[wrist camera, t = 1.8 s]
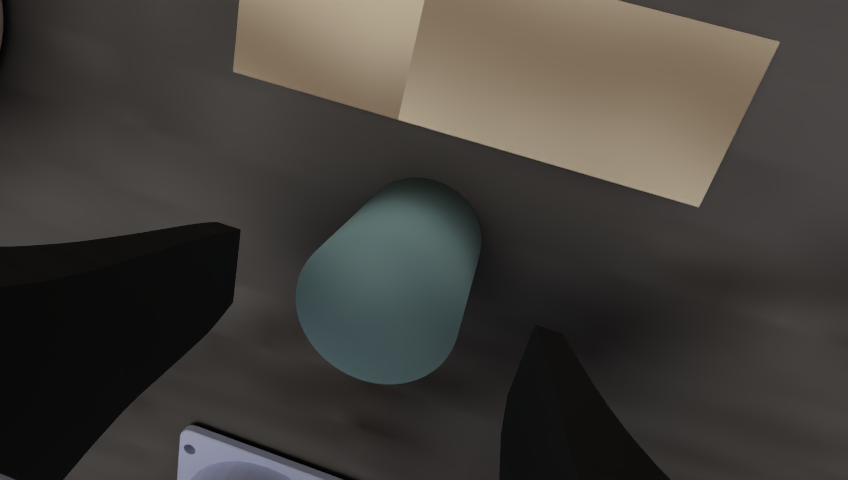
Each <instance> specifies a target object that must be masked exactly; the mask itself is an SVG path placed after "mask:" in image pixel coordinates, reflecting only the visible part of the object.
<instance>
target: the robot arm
mask: <svg viewBox="0 0 848 480" xmlns="http://www.w3.org/2000/svg"><path fill="white" fill-rule="evenodd" d="M239 240H240V229H237V228H234V227H231V226H228V225H225V224H221V223H218V222H209V223H199V224H192V225H185V226H179V227H173V228H167V229H161V230H155V231H149V232H143V233H137V234H131V235H124V236H117V237H110V238H103V239H95V240H88V241H81V242H71V243H61V244H48V245H33V246H15V247H0V480H63V479H64V478H65V477H66V476H67V474H68V473H69V472H70V471H71V470H72V469H73V467H74V466H75V465H76V464H77V463H78V462H79V460H80V459H81V458H82V457H83V456H84V454H85V453H86V452H87V451H88V450H89V449H90V447H91V446H92V445H93V444H94V443H95V442H96V441H97V440H98V438H99V437H100V436H101V435H102V434H103V433H104V432H105V431H106V430H107V428H108V427H109V426H110V425H111V424H112V423H113V422H114V421H115V420H116V418H117V417H118V416H119V415H120V414H121V413H122V412H123V411H124V410H125V409H126V408H127V407H128V406H129V405H130V404H131V403H132V402H133V401H134V400H135V399H136V398H137V397H138V396H139V395H140V394H141V393H142V392H144V391H145V390H146V389H147V388H148V387H149V386H150V385H151V384H152V383H154V382H155V381H156V380H157V379H158V378H159V377H160V376H161V375H162V374H164V373H165V372H166V371H167V370H168V369H169V368H170V367H171V366H172V365H174V364H175V363H176V362H177V361H178V360H179V359H180V358H181V357H182V356H184V355H185V354H186V353H187V352H188V351H189V350H190V349H191V348H192V347H193V346H194V345H195V344H197V343H198V342H199V341H200V340H201V339H202V338H203V337H204V336H205V335H206V334H207V333H208V332H209V331H210V330H211V329H212V328H213V326H214V325H215V324H216V323H217V322H218V320H219V319H220V318H221V317H222V316H223V314H224V313H225V312H226V310H227V309H228V308H229V307H230V305H231V304H232V303H233V297H234V287H235V278H236V268H237V259H238V249H239ZM177 480H343V479H340V478H338V477H335V476H332V475H329V474H327V473H324V472H321V471H318V470H316V469H313V468H310V467H307V466H305V465H302V464H299V463H297V462H294V461H291V460H288V459H286V458H283V457H280V456H277V455H275V454H272V453H269V452H267V451H264V450H261V449H258V448H256V447H253V446H250V445H247V444H245V443H242V442H239V441H236V440H234V439H231V438H228V437H226V436H223V435H220V434H217V433H215V432H212V431H209V430H206V429H204V428H201V427H198V426H194V425H190V426H187V427H186V428H185V429H184V430H183V431H182V432H181V435H180V445H179V459H178V474H177ZM500 480H670V479H669V478H668V477H667V476H666V475H665V474H664V473H663V472H662V471H661V470H660V468H659V467H658V466H657V465H656V464H655V463H654V462H653V461H652V460H651V458H650V457H649V456H648V455H647V454H646V453H645V452H644V451H643V449H642V448H641V447H640V446H639V445H638V444H637V443H636V441H635V440H634V439H633V438H632V437H631V435H630V434H629V433H628V432H627V430H626V429H625V428H624V427H623V425H622V424H621V423H620V421H619V420H618V418H617V417H616V416H615V414H614V413H613V412H612V410H611V409H610V408H609V406H608V405H607V404H606V402H605V401H604V399H603V398H602V396H601V395H600V393H599V392H598V390H597V389H596V387H595V386H594V384H593V383H592V381H591V380H590V378H589V377H588V375H587V373H586V372H585V370H584V369H583V367H582V365H581V364H580V362H579V360H578V359H577V357H576V355H575V354H574V352H573V350H572V349H571V347H570V345H569V344H568V342H567V340H566V339H565V337H564V336H563V334H561V333H558V332H555V331H552V330H549V329H546V328H543V327H540V326H537V325H535V327H534V330H533V333H532V335H531V338H530V340H529V343H528V345H527V348H526V350H525V353H524V355H523V358H522V360H521V363H520V365H519V368H518V371H517V373H516V376H515V378H514V381H513V383H512V386H511V388H510V391H509V393H508V396H507V402H506V408H505V414H504V420H503V426H502V432H501V451H500Z"/></svg>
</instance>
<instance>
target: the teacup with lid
mask: <svg viewBox="0 0 848 480" xmlns="http://www.w3.org/2000/svg"><path fill="white" fill-rule="evenodd" d="M2 36H3V4H2V0H0V49H1V44H2Z"/></svg>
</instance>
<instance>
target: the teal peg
mask: <svg viewBox="0 0 848 480" xmlns="http://www.w3.org/2000/svg"><path fill="white" fill-rule="evenodd" d="M481 244H482V237H481V229H480V225H479V222H478V219H477V217H476V215H475V213H474V211H473V209H472V208H471V206H470V205H469V203H468V202H467V201H466V200H465V199H464V198H463V197H462V196H461V195H460V194H459V193H458V192H456V191H455V190H453V189H452V188H451V187H449V186H447V185H445V184H443V183H440V182H437V181H435V180H430V179H425V178H408V179H402V180H399V181H396V182H393V183H391V184H389V185H387V186H386V187H384V188H383V189H381V190H380V191H379V192H378V193H377V194H375V195H374V196H373V197H372V198H371V199H370V200H369V201H368V202H367V203H366V204H365V205H364V206H363V207H362V208H361V209H360V210H359V211H357V212H356V213H355V214H354V215H353V216H352V217H351V218H350V219H349V220H348V221H347V222H346V223H345V224H344V225H343V226H342V227H341V228H340V229H338V230H337V231H336V232H335V233H334V234H333V235H332V236H331V237H330V238H329V239H328V240H327V241H326V242H325V243H324V244H323V245H322V246H321V247H319V248H318V249H317V250H316V251H315V252H314V253H313V254H312V255H311V257H310V258H309V259H308V260H307V262H306V263H305V265H304V267H303V268H302V270H301V273H300V275H299V278H298V282H297V286H296V296H295V297H296V309H297V314H298V318H299V321H300V324H301V326H302V329H303V331H304V333H305V335H306V336H307V338H308V340H309V341H310V343H311V344H312V345H313V347H314V348H315V349H316V351H317V352H318V353H319V354H320V355H321V356H322V357H323V358H324V359H325V360H327V361H328V362H329V363H330V364H331V365H333V366H334V367H336V368H337V369H339V370H340V371H342V372H344V373H346V374H348V375H350V376H352V377H355V378H357V379H360V380H363V381H367V382H371V383H377V384H401V383H407V382H411V381H414V380H417V379H420V378H422V377H424V376H426V375H428V374H430V373H431V372H433V371H434V370H435V369H437V368H438V367H439V366H440V365H441V364H442V363H443V362H444V361H445V360H446V358H447V357H448V356H449V354H450V353H451V351H452V349H453V347H454V345H455V342H456V340H457V336H458V332H459V329H460V325H461V322H462V318H463V314H464V311H465V307H466V303H467V300H468V296H469V292H470V289H471V285H472V281H473V278H474V274H475V270H476V267H477V263H478V259H479V256H480V251H481Z"/></svg>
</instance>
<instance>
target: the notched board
mask: <svg viewBox="0 0 848 480" xmlns="http://www.w3.org/2000/svg"><path fill="white" fill-rule="evenodd" d="M779 43H780V42H778V41H774V40H770V39H767V38H763V37H759V36H755V35H751V34H747V33H743V32H739V31H735V30H731V29H728V28H724V27H720V26H716V25H712V24H708V23H704V22H700V21H696V20H693V19H689V18H685V17H681V16H677V15H673V14H669V13H665V12H661V11H657V10H654V9H650V8H646V7H642V6H638V5H634V4H630V3H626V2H622V1H618V0H239V11H238V22H237V33H236V44H235V55H234V67H233V72H236V73H239V74H243V75H246V76H250V77H253V78H256V79H260V80H263V81H267V82H270V83H274V84H277V85H280V86H284V87H287V88H291V89H294V90H298V91H301V92H305V93H308V94H311V95H315V96H318V97H322V98H325V99H329V100H332V101H335V102H339V103H342V104H346V105H349V106H353V107H356V108H359V109H363V110H366V111H370V112H373V113H377V114H380V115H383V116H387V117H390V118H394V119H397V120H401V121H404V122H407V123H411V124H414V125H418V126H421V127H425V128H428V129H432V130H435V131H438V132H442V133H445V134H449V135H452V136H456V137H459V138H462V139H466V140H469V141H473V142H476V143H480V144H483V145H486V146H490V147H493V148H497V149H500V150H504V151H507V152H510V153H514V154H517V155H521V156H524V157H528V158H531V159H535V160H538V161H541V162H545V163H548V164H552V165H555V166H559V167H562V168H565V169H569V170H572V171H576V172H579V173H583V174H586V175H589V176H593V177H596V178H600V179H603V180H607V181H610V182H613V183H617V184H620V185H624V186H627V187H631V188H634V189H637V190H641V191H644V192H648V193H651V194H655V195H658V196H662V197H665V198H668V199H672V200H675V201H679V202H682V203H686V204H689V205H692V206H696V207H699V206H700V204H701V202H702V200H703V198H704V196H705V194H706V192H707V190H708V188H709V186H710V184H711V182H712V180H713V177H714V175H715V173H716V171H717V169H718V167H719V165H720V163H721V161H722V159H723V157H724V155H725V153H726V151H727V149H728V147H729V145H730V143H731V141H732V139H733V137H734V135H735V133H736V131H737V129H738V127H739V125H740V123H741V121H742V119H743V116H744V114H745V112H746V110H747V108H748V106H749V104H750V102H751V100H752V98H753V96H754V94H755V92H756V90H757V88H758V86H759V84H760V82H761V80H762V78H763V76H764V74H765V72H766V70H767V68H768V66H769V64H770V62H771V60H772V58H773V55H774V53H775V51H776V49H777V47H778V45H779Z"/></svg>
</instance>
